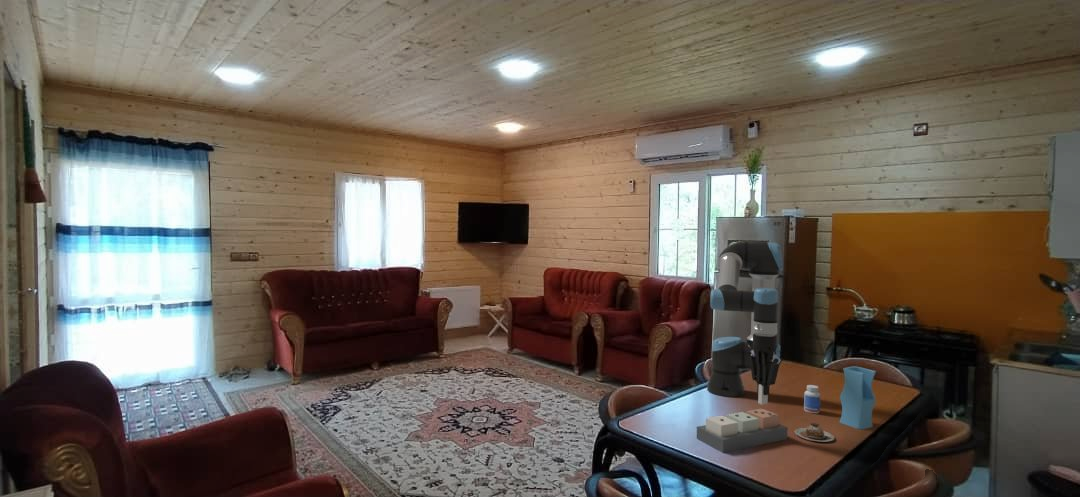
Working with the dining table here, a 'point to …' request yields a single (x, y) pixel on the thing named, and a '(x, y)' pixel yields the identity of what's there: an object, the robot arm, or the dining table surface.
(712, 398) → the dining table surface
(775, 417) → the key
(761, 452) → the dining table surface
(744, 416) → the key
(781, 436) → the keypad
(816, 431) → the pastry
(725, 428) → the key
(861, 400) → the vase
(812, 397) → the pill bottle
